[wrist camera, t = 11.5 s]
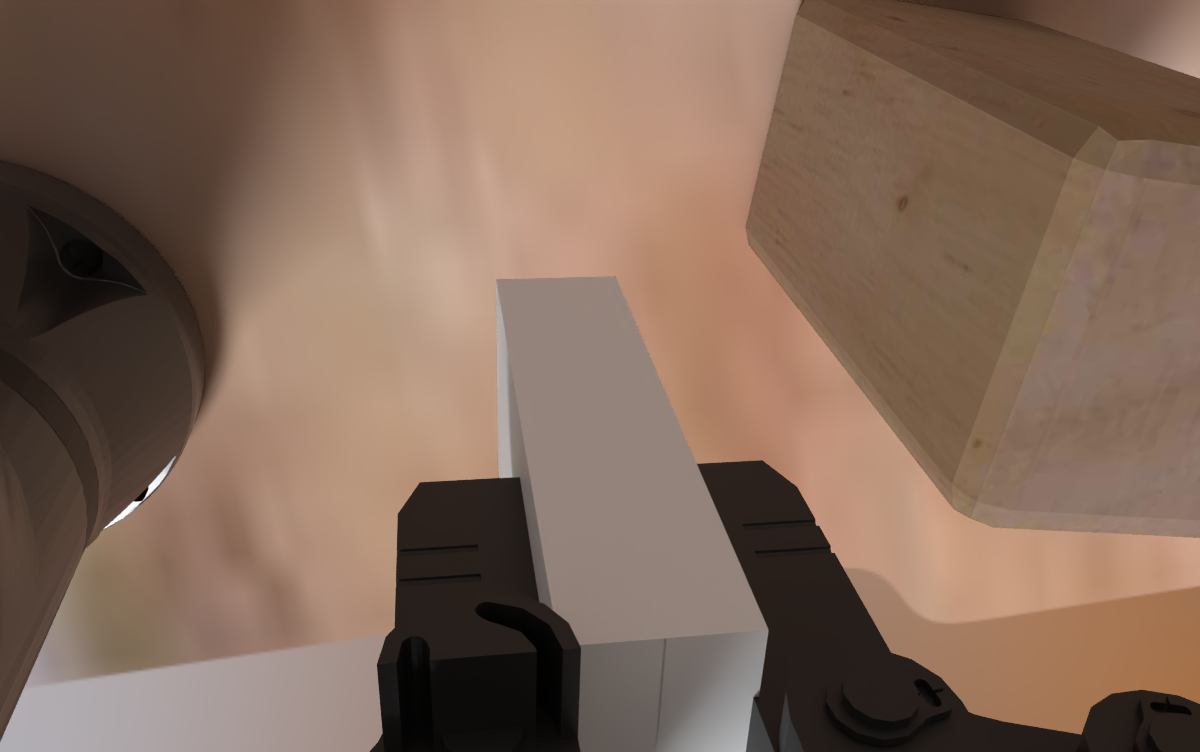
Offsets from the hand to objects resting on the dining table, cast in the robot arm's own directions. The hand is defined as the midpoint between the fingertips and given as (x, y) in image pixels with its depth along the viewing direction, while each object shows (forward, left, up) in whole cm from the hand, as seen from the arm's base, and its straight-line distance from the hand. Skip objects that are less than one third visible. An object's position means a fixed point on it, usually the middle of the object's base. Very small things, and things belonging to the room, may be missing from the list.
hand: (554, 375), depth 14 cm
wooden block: (+16, -4, -27) cm, 31 cm away
